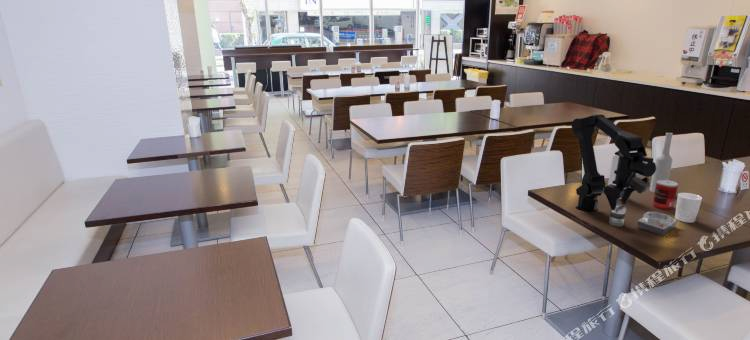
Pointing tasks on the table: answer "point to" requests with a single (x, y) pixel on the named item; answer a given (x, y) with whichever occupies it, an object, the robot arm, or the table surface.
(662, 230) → the camera body
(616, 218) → the lens
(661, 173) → the bottle
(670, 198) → the canned food
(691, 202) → the white cup
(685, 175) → the table surface
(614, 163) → the milk
